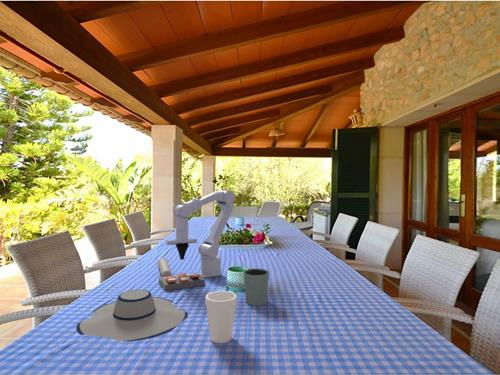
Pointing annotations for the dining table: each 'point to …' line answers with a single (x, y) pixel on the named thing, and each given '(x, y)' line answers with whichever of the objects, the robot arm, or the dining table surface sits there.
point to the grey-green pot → (256, 286)
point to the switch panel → (179, 285)
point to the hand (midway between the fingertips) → (181, 259)
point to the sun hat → (133, 317)
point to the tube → (164, 267)
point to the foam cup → (220, 315)
